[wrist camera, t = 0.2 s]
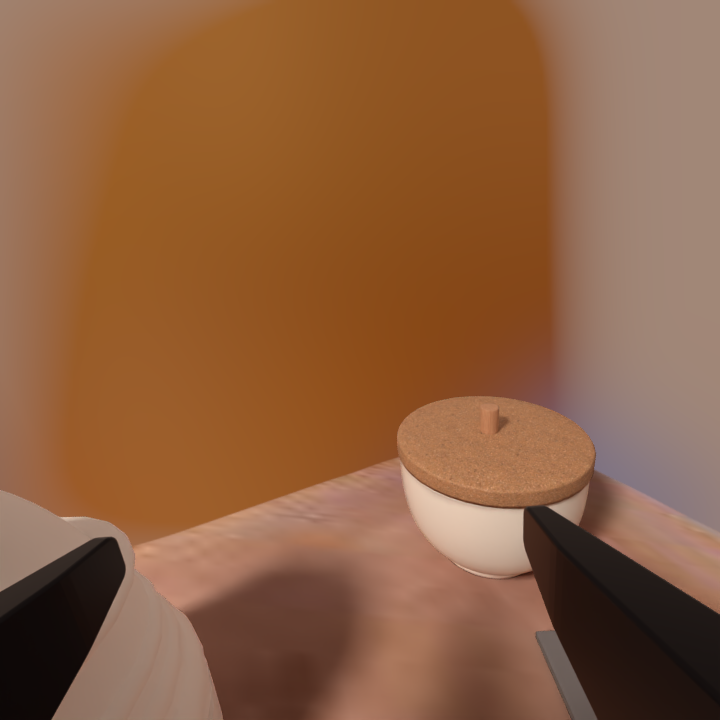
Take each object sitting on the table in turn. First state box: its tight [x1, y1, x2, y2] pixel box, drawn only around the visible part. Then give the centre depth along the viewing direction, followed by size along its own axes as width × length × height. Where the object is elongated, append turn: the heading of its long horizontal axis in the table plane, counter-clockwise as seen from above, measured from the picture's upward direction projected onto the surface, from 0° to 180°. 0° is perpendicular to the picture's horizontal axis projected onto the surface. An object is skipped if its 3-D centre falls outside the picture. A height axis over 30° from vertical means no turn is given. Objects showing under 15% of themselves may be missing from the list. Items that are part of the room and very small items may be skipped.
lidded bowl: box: [397, 396, 596, 579], centre depth 27 cm, size 13×13×11 cm
